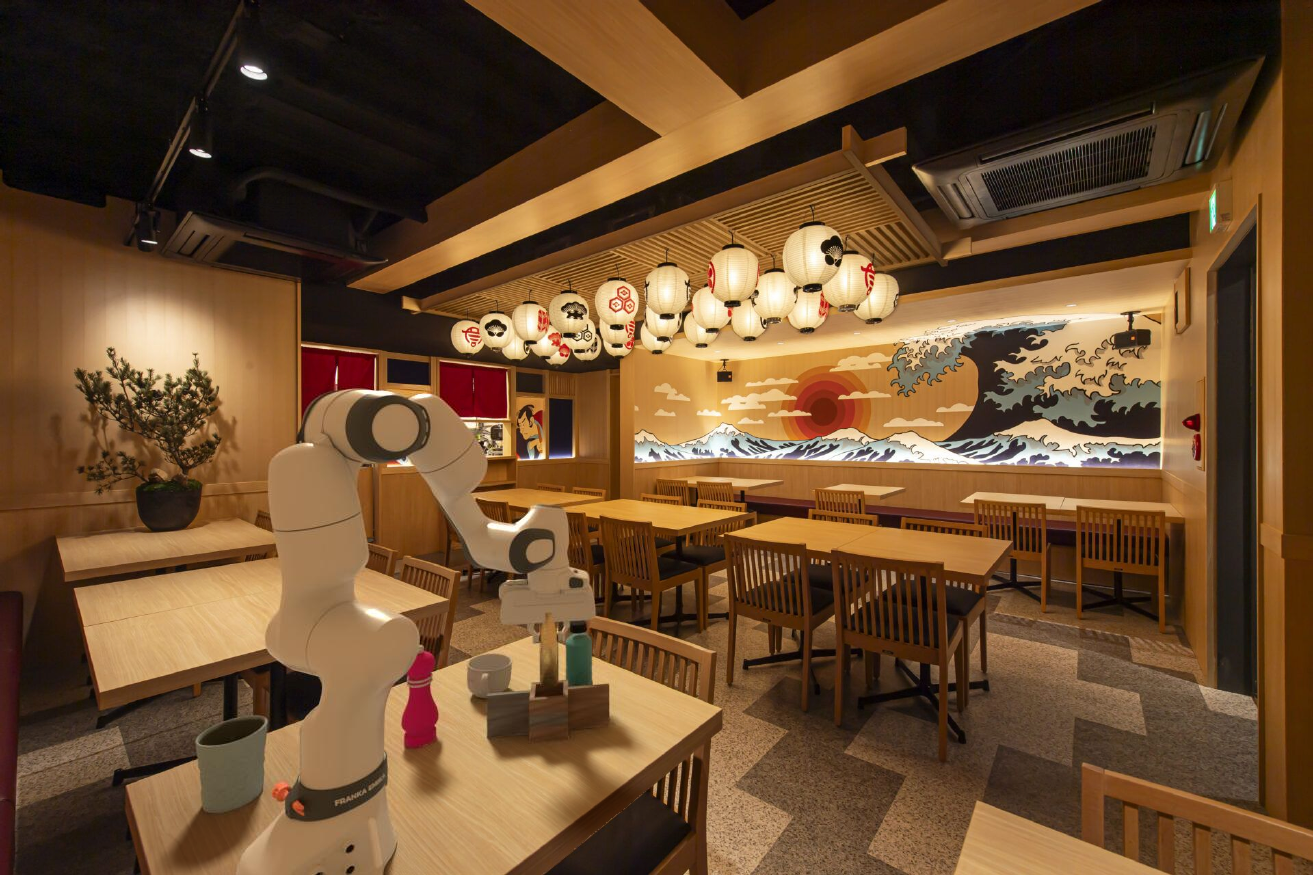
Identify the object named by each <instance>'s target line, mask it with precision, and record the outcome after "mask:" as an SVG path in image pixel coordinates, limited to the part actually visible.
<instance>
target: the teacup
mask: <svg viewBox="0 0 1313 875" xmlns="http://www.w3.org/2000/svg"><path fill="white" fill-rule="evenodd" d="M512 664H513V658H512V657H511V656H510V655H508V654H503V653H496V652H495V653H484V654H480V655H476V656H473V657H472V658H470V659H469V660H468V661H467V662H466V667H467V668H466V670H467V672H466V679H467V680H466V686H467V689H468V690H469V692H470V693H472V695H474V696H475V697H477V698H479V699H487V694H489V693H501V692H506V690H507V689H508V687H509V686H510V684H511V681H512V680H511V678H512V669H513V668H512V666H513V665H512Z"/></svg>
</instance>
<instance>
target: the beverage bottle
mask: <svg viewBox="0 0 1313 875" xmlns="http://www.w3.org/2000/svg"><path fill="white" fill-rule="evenodd" d="M587 631H588V624H587V620H582V621H570V627H569V633H571V634H570V635H569V636H568V637H567V638H566V639H565V641H564V642H565V643H564V644H565V680H568V687H574V686H586V685H594V684H593V683H594V681H593V653H592V652H593V650H592V649H593V648H592V646H593V645H592V643H593V640H592V638H591V637H590V635H588V634H587Z"/></svg>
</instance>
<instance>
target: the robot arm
mask: <svg viewBox="0 0 1313 875" xmlns="http://www.w3.org/2000/svg"><path fill="white" fill-rule="evenodd" d="M295 443H296V444H293V445H290V446H287V447H286V448H284V449H282V450H280V451H278V452H277V453H276V454H275V455H274V456H273V457H272V458H271V460H270V462H269V464H268V476H267V493H268V494H267V496H268V509H269V515H270V516H269V517H270V521H271V526H272V527H271V528H272V531H273V532H272V533H273V536H274V542H275V547H276V552H277V557H278V561H279V569H280V571H281V572H280V574H281V597H280V604H279V608H278V611H276V612H275V614H274V615H273V616H272V617H271V620H270V621H269V623H268V624H267V626H266V631H265V634H264V643H265V648H266V650H267V652H268V654H270V655H271V656H272V657H273V658H274V659H275V660H277V661H278V662H279V663H281V664H282V665H283V666H285V667H287V668H288V669H291V670H293V671H296V672H300V673H304V674H308V675H312V676H315V677H318V679H319V680H320V683H321V687H322V689H321V695H320V700H319V704H318V705H317V706H315V707H314V708H313V709H311V711H309V713H308V714H307V715H306V716H305V718H304V719H303V720H302V722H301V723H300V724H301V725H300V728H299V774H298V776H297V778H296V780H295V783H294V784H293V785H292V787H291V786H289V784H288V783H287V782H285V781H281V782H278V783H277V784H275V785H274V786H273V788H272V789H271V792H270V793H271V794H270V795H271V797H273V798H274V799H275V801H276V802H278V803H283V802H284V809H283V810H282V811H281V812H280V813H279V814H278V815H277V816H276V817H275V819H273V821H272V822H270V824H269V825H268V826H267V827H266V828H265V829H264V830H263V831H262V832H261V833H260V834H259V835H258V836H257V837H256V839H254V841H253V842H252V843H251V844H249V845H248V847H247V848H246V849H245V850H244V851H243V853H242V855H241V856H240V859H239V860H238V863H237V868H236V871H235V875H384V870H385V867H386V865H387V864H388V863H389V861H390V859H391V858H392V856H393V855H394V852H395V850H396V848H397V844H398V843H397V841H398V840H397V839H398V838H397V834H396V831H395V829H394V826H393V824H392V823H393V822H392V820H391V816H390V810H389V805H388V798H387V786H388V782H389V780H388V779H389V778H388V777H389V776H388V774H389V766H388V754H387V751H386V750H385V717H386V715H385V713H386V707H387V702H388V700H389V699H388V698H389V695H390V693H391V691H392V688H393V686H394V685H395V683H396V682H398V681H399V680H400V679H402V678H403V677H404V676H405V675H406V673H407V671H408V670H409V669H410V668H411V666H412V664H413V663H414V661H415V659H416V656H417V653H418V649H419V645H420V632H419V628H418V627H417V625H416V624H415V622H414V621H413V620H412V619H411V618H409V617H406V616H405V615H403V614H401V613H400V612H397V611H395V610H393V609H391V608H388V607H384V606H378V605H372V604H367V603H361V602H359V601H358V599H357V597H356V596H355V582H356V577H357V576H356V575H358V574H359V573H360V572H361V571H362V570H364V568H365V567H366V565H367V564H368V562H369V559H370V551H369V550H370V549H369V544H368V538H367V533H366V529H365V522H364V516H363V512H362V507H361V506H362V505H361V500H360V497H359V492H358V478H359V473H360V470H361V468H362V466H363V464H364V463H375V464H386V463H392V462H396V461H399V460H403V459H404V458H408V459H409V461H410V462H411V464H412V465H413V466H414V468H415V469H416V470H417V472H418V473H419V474H420V476H421V477H422V478H423V480H424V481H425V482H426V484H427V485H428V486H429V489H430V491H431V492H430V493H432V496H433V498H434V500H435V502H436V504H437V505H438V507H439V508H440V510H441V511H442V513H443V514H444V516H445V517H446V519H447V521H448V522H449V523H450V525H451V527H452V528H453V530H454V531H455V532H456V535H457V536H458V538H459V541H460V545H461V549H462V552H463V556H464V558H465V559H466V561H467V562H468V563H469V565H471V566H472V567H476V568H478V569H485V570H486V569H488V570H489V569H490V570H496V571H500V572H501V571H502V572H506V573H513V574H517V575H518V574H519V575H523V574H524V575H525V574H526V575H527V578H524V579H523V578H522V579H514V580H513V579H509V580H508V579H507V580H506V581H505V582H502V583H501V584H500V585H499V588H498V597H499V600H501V606H500V614H499V615H500V616H499V621H500V622H501V624H502V625H503V626H511V625H512V626H516V625H526V630H527V631H528V632H529V634H530V635H531V637H532V644H533V645H534V644H540V634H539V632H536V630H535V628H534V627H535V624H539V623H544V622H545V613H552V621H553V622H558V623H563V624H562V625H563V628H562V630H560V631H559V630H558V643H561V642H563V643H564V642H565V641H566V634H567V632H568V630H569V629H570V623H571V622H572V621H582V620H585V621H592V620H593V619H594V618H595V617H596V615H597V613H596V604H595V603H596V602H595V596H594V592H593V588H592V585H591V584H590V580H591V579H590V575H589V573H588V572H587V571H586V570H583V569H580V568H579V569H578V568H575V567H572V566H570V561H569V558H568V550H569V549H568V548H569V545H570V537H569V536H570V533H569V522H568V521H569V520H568V516H567V512H566V509H565V508H564V507H562V506H560V505H555V504H543V503H535V504H531V505H530V507H529V511H528V512H527V513H526V514H525V516H523V517H522V518H521V519H520V520H518V521H516V522H514V523H510V522H509V523H507V522H501V521H497V520H494V519H491V518H489V517H487V516H486V515H485V514H484V513H483V511H482V509H481V507H480V506H479V504H478V502H477V501H476V499H475V498H474V496H473V495H472V492H473V491H475V489H476V488H477V487H478V486H479V485H480V484H481V483H482V481H483V480H484V478H485V476H486V474H487V470H488V459H487V458H488V457H487V456H486V453H485V451H484V449H483V447H482V446H481V444H480V443H479V441H478V440H477V438H476V437H475V434H474V433H472V430H470V428H469V427H468V426H467V424H466V423H465V421H463V419H462V418H461V417H460V416H459V415H458V413H456V412H455V410H453V408H451V406H450V405H448V403H446V401H445V400H443V399H442V398H441V397H439V396H438V395H435V394H432V393H421V394H420V393H419V394H417V395H413V396H411V397H410V396H409V398H407V397H405V396H403V395H401V394H398V393H395V392H392V391H387V390H371V389H367V388H366V389H365V388H352V389H351V388H350V389H345V390H344V389H343V390H342V389H341V390H340V389H339V390H333V391H331V390H330V391H327V392H326V393H323V394H320V395H319V396H318V397H316V398H315V399H313V400H311V402H310V403H309V405H308V406H307V407H306V409H305V412H304V413H303V416H302V420H301V426H300V429H299V431H298V433H297V435H296V437H295Z"/></svg>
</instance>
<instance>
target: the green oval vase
mask: <svg viewBox="0 0 1313 875" xmlns="http://www.w3.org/2000/svg"><path fill="white" fill-rule="evenodd" d="M268 723H269V722H268V719H267V717H266V716H262V715H246V716H239V717H236V718H235V717H234V718H231V719H228V720H225V721H221V722H220V723H217V724H215V725H212V726H210V727H209V728H207V729H206V730H204V731H203V732H201V733H200V734H199V735H198V736H197V737H196V739H195V751H196V757H197V767H198V769H199V780H200V788H201V789H200V798H201V806H202V810H203V811H204V812H205V813H207V814H208V813H209V814H225V813H227V812H230V811H234V810H237V809H240V808H242V807H243V806H245V805H248V804H249V803H251V802H252V801H254V800H255V799H256V798H257V797H259V796H260V795H261V793H262V791H263V789H264V784H265V766H264V763H265V760H266V755H265V754H266V753H265V752H266V750H265V749H266V745H267V735H268Z"/></svg>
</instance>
